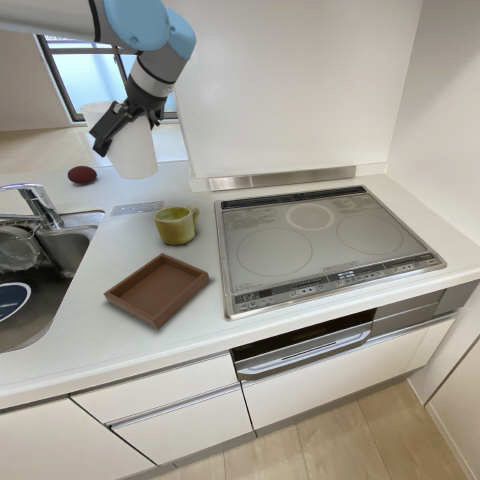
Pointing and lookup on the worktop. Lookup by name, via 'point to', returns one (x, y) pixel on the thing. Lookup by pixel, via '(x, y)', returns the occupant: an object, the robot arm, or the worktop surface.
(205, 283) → the tray
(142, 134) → the cup
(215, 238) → the worktop surface
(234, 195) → the worktop surface
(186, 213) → the mug
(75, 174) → the dark red rounded lump
